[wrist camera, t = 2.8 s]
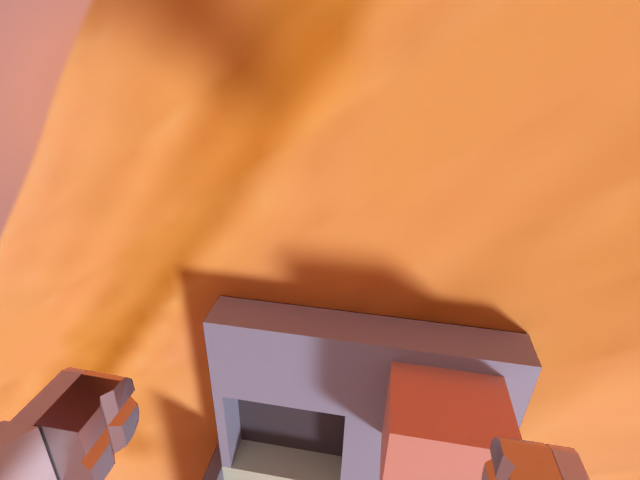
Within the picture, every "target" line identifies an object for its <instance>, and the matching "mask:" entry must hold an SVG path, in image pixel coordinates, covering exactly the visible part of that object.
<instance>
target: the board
mask: <svg viewBox="0 0 640 480" xmlns="http://www.w3.org/2000/svg"><path fill="white" fill-rule="evenodd" d="M203 328H204V336H205V343H206V351H207V358H208V365H209V373H210V380H211V388H212V395H213V403H214V410H215V418H216V425H217V433H218V440H219V442H218V444H217V447H216V449H215V451H214V454H213V456H212V458H211V461H210V463H209V465H208V468H207V470H206V472H205V475H204V477H203V479H202V480H379V479H380V457H381V435H382V427H383V419H384V412H385V405H386V398H387V391H388V384H389V377H390V369H391V362H392V361H393V362H401V363H408V364H415V365H422V366H430V367H437V368H444V369H451V370H459V371H466V372H473V373H480V374H488V375H495V376H502V377H504V378H505V382H506V385H507V389H508V392H509V396H510V399H511V403H512V406H513V409H514V413H515V416H516V420H517V423H518V427H519V428H520V426H521V423H522V420H523V417H524V415H525V412H526V409H527V406H528V404H529V401H530V398H531V396H532V393H533V390H534V387H535V385H536V382H537V379H538V377H539V374H540V371H541V368H542V366H541V364H540V361H539V359H538V357H537V354H536V352H535V349H534V347H533V344H532V342H531V339H530V337H529V334H525V333H517V332H509V331H501V330H493V329H485V328H476V327H468V326H460V325H452V324H444V323H436V322H428V321H420V320H412V319H404V318H396V317H388V316H379V315H371V314H363V313H355V312H347V311H339V310H331V309H323V308H315V307H307V306H299V305H291V304H282V303H274V302H266V301H258V300H250V299H242V298H234V297H226V296H219V298H218V299H217V301H216V302H215V304H214V306H213V307H212V309H211V310H210V312H209V313H208V315H207V316H206V318H205V319H204V321H203Z"/></svg>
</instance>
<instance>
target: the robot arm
mask: <svg viewBox="0 0 640 480" xmlns="http://www.w3.org/2000/svg"><path fill="white" fill-rule="evenodd" d="M134 390H135V389H134V385H133V381H132V379H130V378H127V377H121V376H116V375H111V374H106V373H100V372H95V371H90V370H83V369H78V368H72V367H69V368H67V369H64V370H62V371H61V372H60V373H59V374H58V375H57V376H56V377H55V378H54V379H53V380H52V381H51V382H50V383H49V384H48V385H47V386H46V387H45V388H44V389H43V390H42V391H41V392H40V393H38V394H37V395H36V396H35V397H34V398H33V399H32V400H31V401H30V402H29V403H28V404H27V405H26V406H25V407H24V408H23V409H22V410H21V411H20V412H19V413H18V414H17V415H16V416H15V417H14V418H13V419H12V420H11V421H2V422H0V480H104V479H105V477H106V476H107V474H108V473H109V472H110V470H111V469H112V467H113V466H114V464H115V456H114V453H116V452H118V451H119V450H121V449H122V448H124V447H126V446H127V444H128V443H129V441H130V440H131V438H132V437H133V435H134V432H135V430H136V427H137V424H138V420H139V408H138V404H137V403H136V402H135V400H134V399H133V398H132V397H131V394H132V393H133V392H134ZM490 453H491V458H492V459H490V460H488V461H487V462H485V464H484V468H483V472H482V480H590V479H589V477H588V475H587V472H586V470H585V468H584V466H583V463H582V461H581V459H580V457H579V454H578V453H577V452H576V451H575V449H574V448H569V447H563V446H556V445H550V444H544V443H539V442H532V441H525V440H518V439H512V438H505V437H498V436H495V437H494V438H493V440H492V442H491V445H490Z"/></svg>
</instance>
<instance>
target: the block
mask: <svg viewBox="0 0 640 480" xmlns="http://www.w3.org/2000/svg"><path fill="white" fill-rule="evenodd" d="M495 436H498V437H505V438H512V439H518V440H522V437H521V434H520V430H519V427H518V423H517V420H516V416H515V413H514V409H513V406H512V403H511V399H510V396H509V392H508V389H507V385H506V382H505V378H504V377H502V376H495V375H488V374H480V373H473V372H466V371H459V370H451V369H444V368H437V367H430V366H422V365H415V364H408V363H401V362H393V361H392V362H391V369H390V377H389V384H388V391H387V398H386V405H385V412H384V419H383V427H382V435H381V457H380V479H379V480H482V472H483V468H484V464H485V462H487V461H488V460H490V459H492V458H491V453H490V445H491V442H492V440H493V438H494V437H495Z"/></svg>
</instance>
